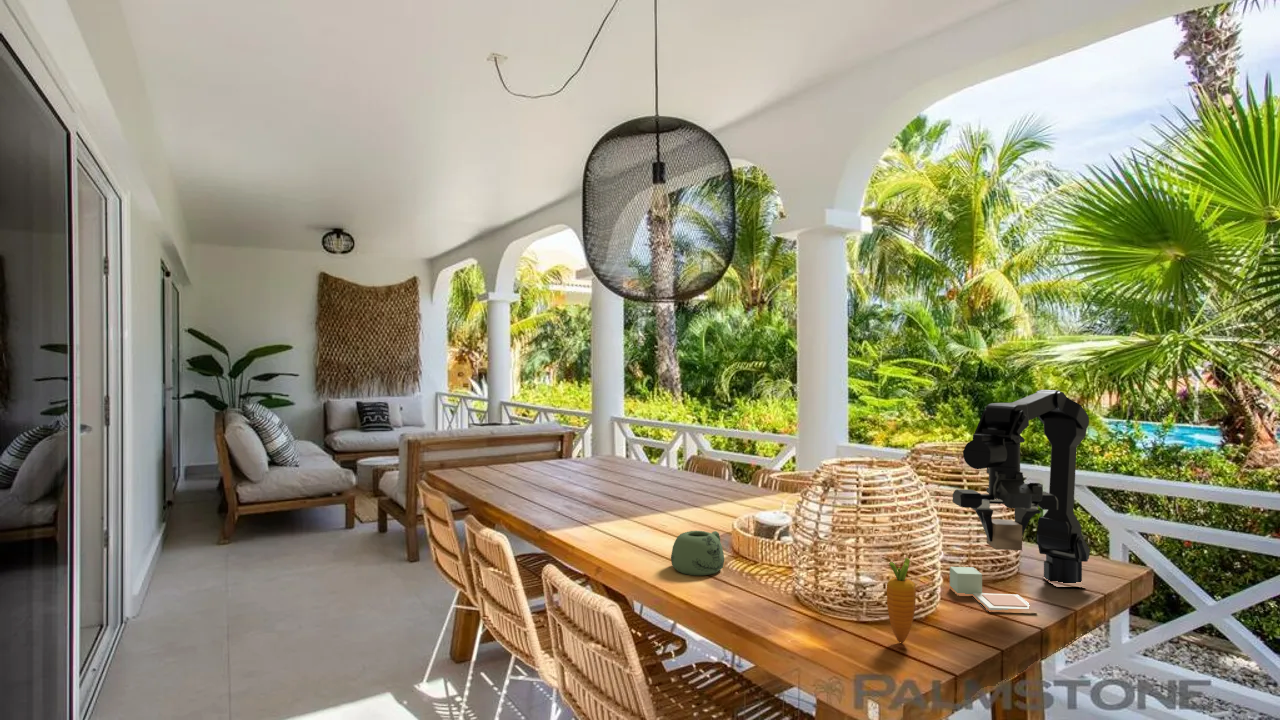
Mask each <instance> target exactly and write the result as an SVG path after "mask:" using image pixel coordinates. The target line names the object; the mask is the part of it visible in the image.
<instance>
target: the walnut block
mask: <svg viewBox="0 0 1280 720" xmlns="http://www.w3.org/2000/svg"><path fill="white" fill-rule="evenodd" d="M992 530H993V538H992V542H990V541H989V540H988V538H987V537H986V544H987V545H989V547H992V549H995V550H1002V551H1005V550H1007V551H1023V536H1022V525H1021V524H1019V523H1017V522H1015V520H1013V519H995V518H994V519H992Z"/></svg>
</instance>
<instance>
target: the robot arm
mask: <svg viewBox="0 0 1280 720" xmlns="http://www.w3.org/2000/svg"><path fill="white" fill-rule="evenodd" d="M1036 418H1038V419H1039V420H1040V422H1041V423H1042V424H1043V433H1044V435H1045V437H1046V438H1047V440H1048V442H1049V444H1050V446H1051V452H1050V468H1049V469H1050V471H1049V472H1050V473H1049V486H1048V487H1049V489H1048V492H1047V491H1043V485H1042V484H1041V483H1040V482H1030V483H1025V480H1024V475H1023V472H1022V471H1021V443H1025V441H1026V439H1025V438H1024V437H1023V436H1022V435H1021V434H1022V433H1023V431H1025V430H1026V429H1027V428H1028V427H1029V426H1030V421H1031V420H1033V419H1036ZM977 423H978V424H977V427H976V429H975V431H974V433H973V434H972V440H971V441H969V442H968V443H966V445H965V446H964V448H963V450H962V456H963V459H964V461H965V463H966V465H968V466H969V467H970V468H972V469H975V470H982V469H986V473H987V474H988V487H986V493H987V494H986V493H983V494H982V493H980V492H979V491H976V490H974V489H955V490H954V491H953V492H952V503H953V504H955V505H956V506H959V507H960V508H966V509H967V508H970V509H972V510H974V511H975V513H976V515H977V517H978V519H979V521H980V523H981V525H982V527H983V531H984V533H985V535H986V539H987V538H988V540H989V541H990V542H992V538H993V530H992V518H993V517H992V516H993V513H994V509H991V508H990V507H991V505H990V504H994V505H996V504H997V505H1004V506H1005V507H1006V508H1008V509H1014V521H1015V522H1017V523H1019V524H1021V525H1022V537H1023V535H1024V533H1025V531H1026V529H1027V526H1028V524H1029V522H1030V521H1031V519H1032V518H1033V517H1034V516H1035V515H1037V514H1041V512H1042V511H1041V510H1045V511H1046V512H1045V514H1044V515H1042V516H1040V517H1039V518H1038V519H1037V530H1036V535H1035V537H1036V542H1037V547H1038V552H1039V554H1040V555H1045V560H1044V561H1043V577H1045V578H1046V579H1048V580H1050V581H1058V582H1063V583H1076V582H1081V581H1082V582H1083V562H1085V563H1087V562H1088V561H1089V559H1090V552H1091V550H1090V547H1089V545H1088V543H1087V542H1086V540H1085V539H1084V537H1083V535H1082V524H1081V523H1080V521H1079V520H1078V518H1077V517H1076V515H1075V513H1074V510H1075V509H1074V507H1075V486H1076V467H1077V448H1078V446H1079V445H1080V444H1081V443H1082V441H1084V439H1085V438H1086V436H1087V429H1088V427H1089V424H1090V418H1089V415H1088V413H1087V412H1086V410H1085V409H1084V408H1083V406H1082V405H1081V404H1079V402H1076V401H1074V400H1073V399H1071V398H1069V397H1067V395H1066V394H1065V392H1063V391H1061V390H1059V389H1058V390H1054V389H1052V390H1051V389H1040V390H1037V391H1036V392H1035V393H1032V394H1029V395H1027V396H1025V397H1022V398H1019V399H1018V400H1015V401H1013V402H994V403H993V402H992V403H989V404H987V405H986V406H985V409H983V411H982V413H981V416H980V419H979V421H978V422H977ZM1039 508H1040V509H1041V510H1040V509H1039Z"/></svg>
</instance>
